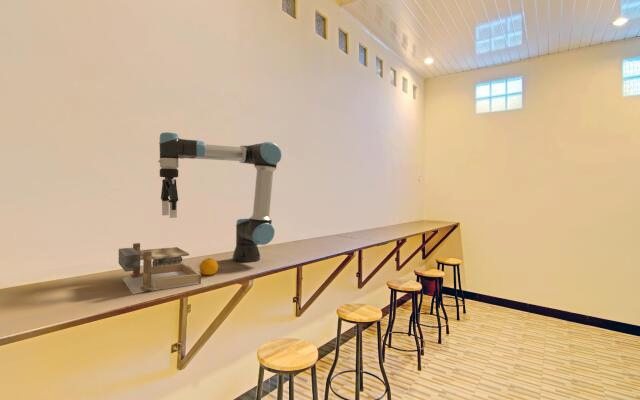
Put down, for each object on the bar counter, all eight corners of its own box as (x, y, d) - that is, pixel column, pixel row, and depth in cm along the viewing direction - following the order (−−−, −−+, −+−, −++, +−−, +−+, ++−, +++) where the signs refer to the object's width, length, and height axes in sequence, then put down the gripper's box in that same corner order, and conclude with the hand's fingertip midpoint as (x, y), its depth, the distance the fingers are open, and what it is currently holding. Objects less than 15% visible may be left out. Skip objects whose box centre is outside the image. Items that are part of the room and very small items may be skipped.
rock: (152, 273, 152) (157, 251, 153) (144, 269, 157) (148, 248, 158) (184, 273, 164) (188, 252, 165) (175, 269, 170) (179, 250, 171)
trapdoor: (176, 257, 153) (176, 243, 153) (189, 264, 138) (189, 250, 138) (118, 262, 139) (118, 248, 139) (125, 272, 124) (125, 256, 124)
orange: (203, 277, 149) (203, 260, 148) (197, 273, 155) (197, 257, 154) (220, 275, 154) (220, 258, 153) (213, 271, 160) (214, 255, 159)
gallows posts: (140, 276, 147) (140, 242, 147) (154, 291, 127) (154, 252, 127) (130, 277, 145) (130, 243, 144) (142, 293, 125) (142, 253, 124)
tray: (183, 271, 158) (183, 263, 158) (200, 283, 139) (201, 274, 139) (122, 279, 142) (122, 270, 142) (132, 293, 123) (132, 283, 123)
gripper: (153, 169, 155) (153, 214, 156) (166, 166, 135) (167, 219, 136) (170, 169, 160) (170, 214, 160) (186, 167, 140) (186, 218, 141)
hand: (169, 216), depth 148 cm, fingers open, 13 cm apart
